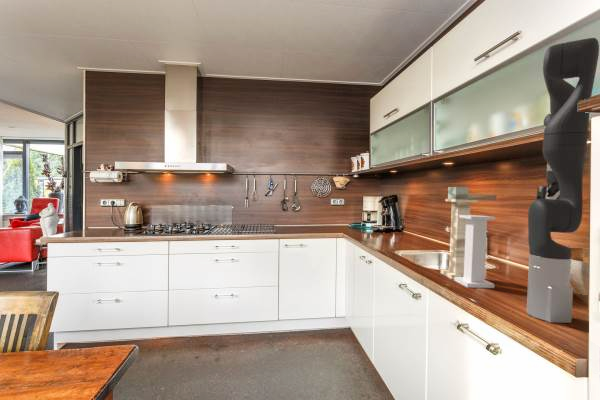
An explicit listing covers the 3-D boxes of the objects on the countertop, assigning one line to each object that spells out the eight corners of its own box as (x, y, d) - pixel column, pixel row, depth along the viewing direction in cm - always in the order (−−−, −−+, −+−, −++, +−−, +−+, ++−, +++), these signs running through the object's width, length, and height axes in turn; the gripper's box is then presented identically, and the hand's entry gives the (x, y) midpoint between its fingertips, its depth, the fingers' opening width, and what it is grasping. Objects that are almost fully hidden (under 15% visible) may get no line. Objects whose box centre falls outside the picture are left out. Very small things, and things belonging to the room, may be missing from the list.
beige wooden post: (476, 279, 125) (479, 200, 124) (451, 279, 124) (455, 199, 123) (463, 273, 134) (466, 199, 133) (440, 273, 133) (443, 198, 132)
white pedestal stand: (494, 288, 114) (497, 217, 113) (467, 287, 113) (470, 216, 113) (479, 281, 123) (482, 215, 122) (454, 280, 122) (457, 214, 122)
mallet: (499, 200, 126) (499, 188, 125) (455, 199, 125) (456, 186, 125) (489, 200, 132) (490, 188, 132) (447, 198, 131) (448, 187, 131)
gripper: (549, 168, 103) (547, 217, 103) (591, 169, 103) (588, 218, 104) (532, 170, 110) (529, 215, 111) (570, 171, 111) (567, 216, 112)
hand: (558, 216), depth 107 cm, fingers open, 8 cm apart
